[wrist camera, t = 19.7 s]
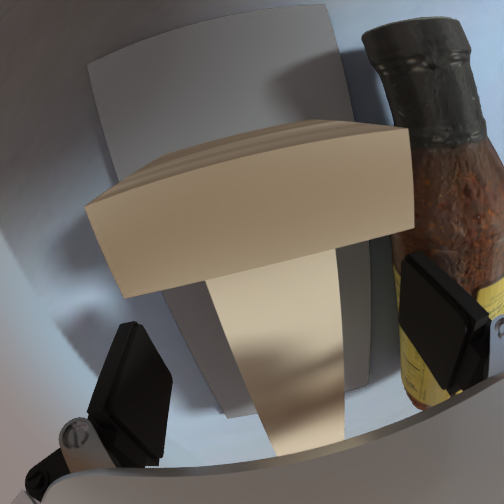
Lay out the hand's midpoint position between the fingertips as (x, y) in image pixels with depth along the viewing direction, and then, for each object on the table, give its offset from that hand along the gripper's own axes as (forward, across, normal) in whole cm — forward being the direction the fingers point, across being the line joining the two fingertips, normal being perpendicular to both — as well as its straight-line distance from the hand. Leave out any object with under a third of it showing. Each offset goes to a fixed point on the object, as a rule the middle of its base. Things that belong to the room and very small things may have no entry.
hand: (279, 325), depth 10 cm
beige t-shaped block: (+4, 0, +1) cm, 4 cm away
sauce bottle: (+2, -10, +11) cm, 14 cm away
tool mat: (+5, 0, 0) cm, 5 cm away
